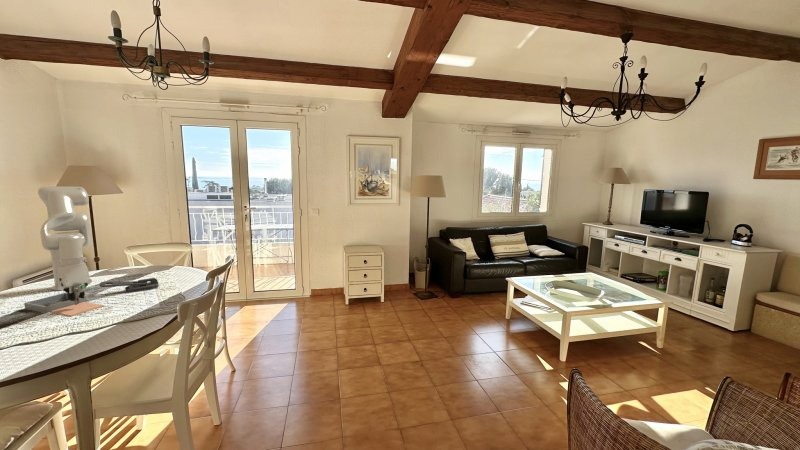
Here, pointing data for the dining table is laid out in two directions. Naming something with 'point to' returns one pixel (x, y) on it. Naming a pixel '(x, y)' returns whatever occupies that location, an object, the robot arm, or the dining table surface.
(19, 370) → the dining table surface
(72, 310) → the rubber mat
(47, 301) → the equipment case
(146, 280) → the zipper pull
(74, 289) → the mechanical component
